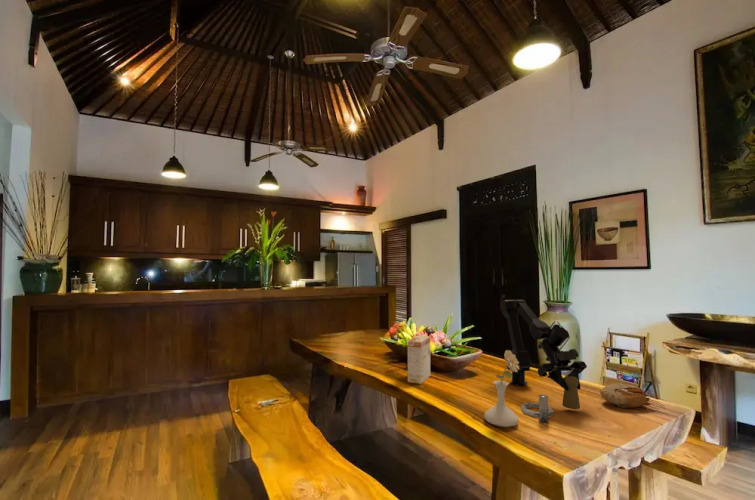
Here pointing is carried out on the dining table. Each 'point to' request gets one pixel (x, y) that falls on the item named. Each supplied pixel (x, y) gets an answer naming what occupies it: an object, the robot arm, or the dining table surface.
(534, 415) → the octagon frame
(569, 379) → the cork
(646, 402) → the nautilus
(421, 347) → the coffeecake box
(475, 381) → the dining table surface
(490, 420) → the flower in vase
